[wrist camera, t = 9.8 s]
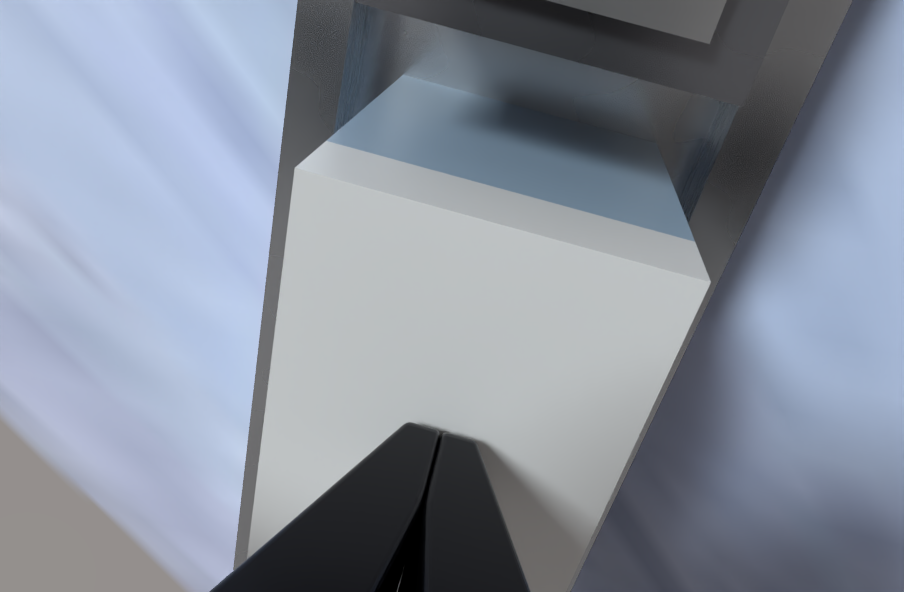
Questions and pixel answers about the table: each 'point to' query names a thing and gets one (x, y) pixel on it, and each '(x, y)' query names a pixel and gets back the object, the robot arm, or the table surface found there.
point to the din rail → (566, 105)
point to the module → (477, 308)
